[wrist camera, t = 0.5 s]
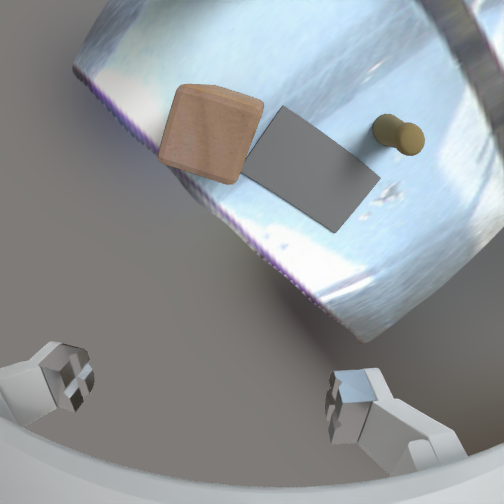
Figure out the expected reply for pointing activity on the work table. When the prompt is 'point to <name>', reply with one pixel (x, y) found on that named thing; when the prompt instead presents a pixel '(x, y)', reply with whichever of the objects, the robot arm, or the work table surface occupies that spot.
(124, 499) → the robot arm
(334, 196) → the mat
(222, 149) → the wooden block
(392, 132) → the cork
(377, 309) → the work table surface
